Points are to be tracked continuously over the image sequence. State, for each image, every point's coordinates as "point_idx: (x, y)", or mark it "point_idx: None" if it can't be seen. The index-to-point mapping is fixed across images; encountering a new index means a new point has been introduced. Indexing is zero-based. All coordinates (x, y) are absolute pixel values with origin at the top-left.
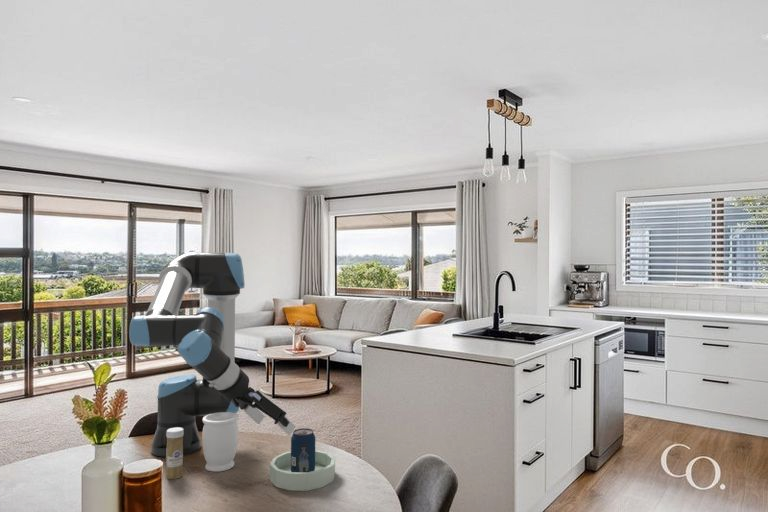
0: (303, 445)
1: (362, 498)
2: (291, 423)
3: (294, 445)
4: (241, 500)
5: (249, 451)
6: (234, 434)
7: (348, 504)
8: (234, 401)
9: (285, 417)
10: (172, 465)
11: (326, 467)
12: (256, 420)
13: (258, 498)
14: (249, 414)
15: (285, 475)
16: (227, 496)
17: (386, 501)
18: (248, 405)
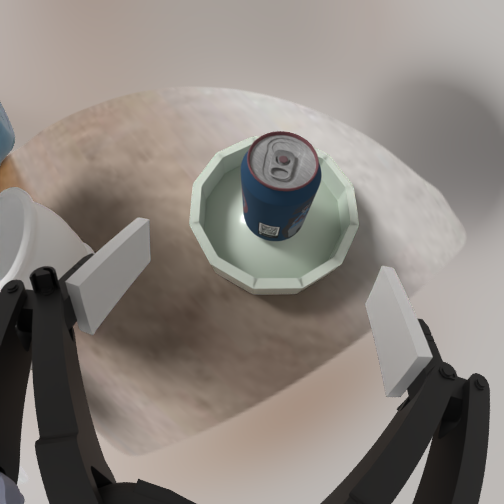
0: (307, 203)
1: (430, 242)
2: (401, 289)
3: (276, 212)
4: (235, 389)
5: (84, 180)
6: (59, 244)
7: (427, 277)
8: (25, 392)
9: (417, 328)
10: (30, 368)
11: (352, 207)
12: (138, 271)
13: (262, 363)
14: (110, 308)
15: (288, 289)
16: (192, 389)
17: (458, 232)
18: (75, 300)
